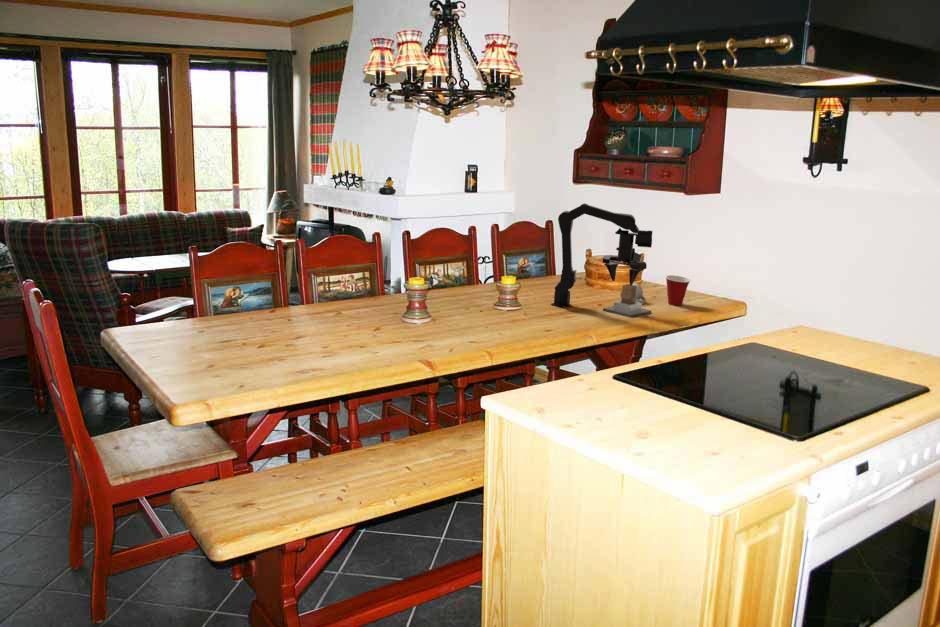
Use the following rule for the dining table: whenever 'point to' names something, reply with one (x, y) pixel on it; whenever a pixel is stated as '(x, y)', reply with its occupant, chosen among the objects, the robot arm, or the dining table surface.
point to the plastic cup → (676, 289)
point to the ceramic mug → (637, 294)
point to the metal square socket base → (627, 309)
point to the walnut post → (628, 294)
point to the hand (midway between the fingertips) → (622, 283)
